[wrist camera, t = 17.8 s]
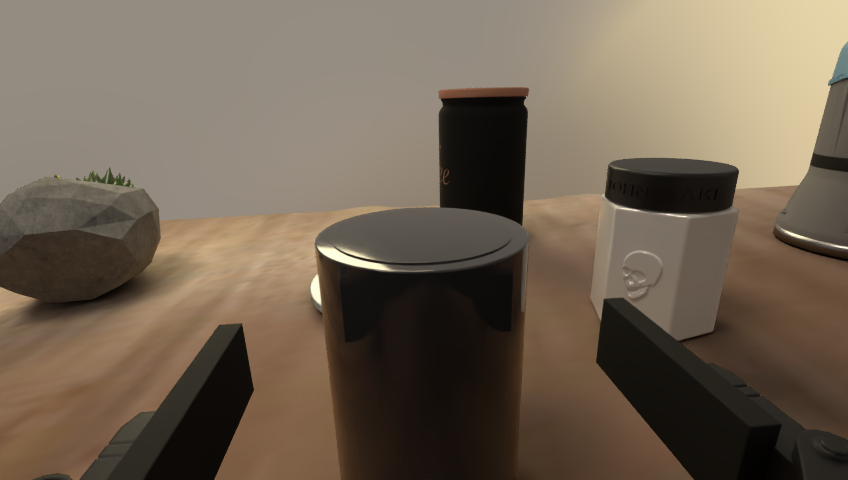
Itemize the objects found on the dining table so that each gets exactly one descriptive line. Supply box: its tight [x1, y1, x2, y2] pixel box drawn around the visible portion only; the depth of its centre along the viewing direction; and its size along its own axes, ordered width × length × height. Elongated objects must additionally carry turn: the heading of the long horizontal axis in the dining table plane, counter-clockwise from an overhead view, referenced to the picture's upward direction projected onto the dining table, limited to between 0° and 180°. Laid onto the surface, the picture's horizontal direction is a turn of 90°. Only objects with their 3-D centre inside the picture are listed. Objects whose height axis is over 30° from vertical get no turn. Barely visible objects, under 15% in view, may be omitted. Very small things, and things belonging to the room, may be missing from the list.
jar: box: [591, 158, 739, 341], centre depth 32 cm, size 9×8×12 cm
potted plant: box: [0, 168, 161, 303], centre depth 41 cm, size 12×13×15 cm
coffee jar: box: [439, 87, 529, 226], centre depth 53 cm, size 11×11×18 cm
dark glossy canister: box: [315, 208, 529, 480], centre depth 18 cm, size 8×8×12 cm
